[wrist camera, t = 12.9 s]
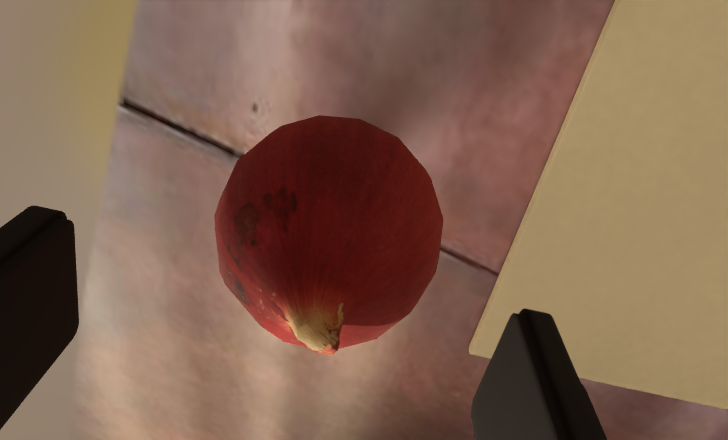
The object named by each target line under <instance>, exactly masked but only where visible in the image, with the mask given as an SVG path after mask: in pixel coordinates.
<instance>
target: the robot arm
mask: <svg viewBox="0 0 728 440" xmlns="http://www.w3.org/2000/svg"><path fill="white" fill-rule="evenodd" d="M78 324H79V314H78V295H77V274H76V254H75V234H74V224H73V222H72V221H70V220H67V217H66V215H65V213H64V212H62V211H58V210H53V209H48V208H44V207H39V206H30V207H28V208H27V209H25V210H24V211H23V212H21V213H20V214H19V215H17V216H16V217H14V218H13V219H12V220H10V221H9V222H8V223H6V224H5V225H4V226H2V227H1V228H0V429H1V428H2V427H3V425H4V424H5V423H6V422H7V421H8V419H9V418H10V417H11V416H12V414H13V413H14V412H15V411H16V409H17V408H18V407H19V406H20V404H21V403H22V402H23V400H24V399H25V398H26V397H27V395H28V394H29V393H30V391H31V390H32V389H33V388H34V387H35V385H36V384H37V383H38V382H39V380H40V379H41V378H42V377H43V375H44V374H45V373H46V371H47V370H48V369H49V368H50V366H51V365H52V364H53V363H54V362H55V360H56V359H57V358H58V357H59V355H60V354H61V353H62V352H63V350H64V349H65V348H66V346H67V345H68V344H69V343H70V342H71V340H72V339H73V338H74V336H75V334H76V332H77V329H78ZM471 419H472V425H473V431H474V437H475V440H607V438H606V436H605V433H604V431H603V429H602V426H601V424H600V422H599V419H598V417H597V415H596V412H595V410H594V408H593V405H592V403H591V401H590V398H589V396H588V394H587V391H586V390H585V388H584V386H583V385H582V384H581V382H580V380H579V378H578V375H577V373H576V371H575V368H574V366H573V364H572V361H571V359H570V357H569V354H568V352H567V349H566V347H565V345H564V342H563V340H562V338H561V335H560V333H559V331H558V328H557V326H556V324H555V321H554V319H553V317H552V315H551V314H549V313H545V312H540V311H535V310H530V309H522V310H521V311H520V312H519V314H517V313H513V314H512V315H511V316H510V318H509V320H508V322H507V324H506V327H505V329H504V331H503V333H502V336H501V338H500V340H499V342H498V345H497V347H496V349H495V351H494V354H493V356H492V358H491V360H490V363H489V365H488V367H487V369H486V372H485V374H484V376H483V378H482V381H481V383H480V385H479V387H478V390H477V392H476V394H475V396H474V399H473V402H472V406H471Z"/></svg>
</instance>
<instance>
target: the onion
mask: <svg viewBox="0 0 728 440" xmlns="http://www.w3.org/2000/svg"><path fill="white" fill-rule="evenodd" d="M442 227H443V217H442V214H441V210H440V207H439V204H438V200H437V197H436V194H435V190H434V187H433V184H432V180H431V178H430V176H429V174H428V173H427V171H426V170H425V168H424V167H423V166H422V165H421V164H420V163H419V161H418V160H417V159H416V158H415V157H414V156H413V154H412V153H411V152H410V151H409V150H408V148H407V147H406V146H405V145H404V144H403V143H402V141H401V140H400V139H399V138H398V137H396V136H394V135H392V134H390V133H388V132H386V131H384V130H382V129H379V128H377V127H375V126H373V125H371V124H369V123H367V122H365V121H363V120H361V119H354V118H343V117H332V116H320V115H319V116H315V117H312V118H308V119H305V120H301V121H297V122H294V123H290V124H287V125H283V126H281V127H279V128H278V129H276V130H275V131H273V132H272V133H270V134H269V135H268V136H267V137H265V138H264V139H263V140H262V141H261V142H259V143H258V144H257V145H256V146H255V147H253V148H252V149H251V150H250V151H249V152H247V153H246V154H245V155H244V156H243V157H241V158H240V159H239V160H238V161H237V163H236V165H235V167H234V169H233V171H232V174H231V176H230V178H229V180H228V182H227V185H226V187H225V189H224V191H223V193H222V196H221V198H220V201H219V204H218V207H217V210H216V213H215V230H216V241H217V250H218V260H219V269H220V274H221V276H222V278H223V280H224V282H225V285H226V286H227V287H228V288H229V289H230V291H231V292H232V293H233V294H234V295H235V296H236V298H237V299H238V300H239V301H240V302H241V303H242V305H243V306H244V307H245V308H246V309H247V311H248V312H249V313H250V314H251V315H252V316H253V318H254V319H255V320H256V321H257V322H258V323H259V324H260V325H261V326H262V327H263V328H265V329H266V330H268V331H269V332H271V333H272V334H273V335H275V336H276V337H278V338H279V339H281V340H282V341H284V342H287V343H291V344H295V345H299V346H303V347H307V348H309V349H311V350H313V351H314V352H321V353H324V354H326V355H329V356H331V355H332V354H334V353H335V352H336V351H338V348H344V347H348V346H352V345H355V344H359V343H363V342H367V341H370V340H374V339H377V338H378V337H379V336H381V335H382V334H383V333H384V332H386V331H387V330H388V329H390V328H391V327H392V326H394V325H395V324H396V323H397V322H399V321H400V320H401V319H403V318H404V317H405V316H407V315H408V314H409V313H410V312H411V311H412V310H413V308H414V307H415V305H416V304H417V303H418V301H419V299H420V298H421V296H422V294H423V293H424V291H425V289H426V288H427V286H428V284H429V283H430V281H431V279H432V277H433V276H434V274H435V272H436V268H437V264H438V259H439V252H440V243H441V235H442Z"/></svg>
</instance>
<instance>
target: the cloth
mask: <svg viewBox="0 0 728 440" xmlns="http://www.w3.org/2000/svg"><path fill="white" fill-rule="evenodd" d="M522 309H530V310H535V311H540V312H545V313H549V314H551V315H552V317H553V319H554V321H555V324H556V326H557V328H558V331H559V333H560V335H561V338H562V340H563V342H564V345H565V347H566V349H567V352H568V354H569V357H570V359H571V361H572V364H573V366H574V368H575V371H576V373H577V375H578V377H579V378H583V379H588V380H593V381H597V382H602V383H607V384H611V385H616V386H620V387H625V388H630V389H634V390H639V391H644V392H648V393H653V394H657V395H662V396H667V397H671V398H676V399H681V400H685V401H690V402H694V403H699V404H704V405H708V406H713V407H718V408H722V409H727V410H728V0H615V1H614V4H613V6H612V8H611V11H610V13H609V16H608V18H607V20H606V23H605V25H604V27H603V30H602V32H601V34H600V37H599V39H598V42H597V44H596V46H595V49H594V51H593V53H592V56H591V58H590V61H589V63H588V65H587V68H586V70H585V72H584V75H583V77H582V80H581V82H580V84H579V87H578V89H577V91H576V94H575V96H574V98H573V101H572V103H571V106H570V108H569V110H568V113H567V115H566V117H565V120H564V122H563V125H562V127H561V129H560V132H559V134H558V136H557V139H556V141H555V144H554V146H553V148H552V151H551V153H550V155H549V158H548V160H547V162H546V165H545V167H544V170H543V172H542V174H541V177H540V179H539V181H538V184H537V186H536V189H535V191H534V193H533V196H532V198H531V200H530V203H529V205H528V208H527V210H526V212H525V215H524V217H523V219H522V222H521V224H520V226H519V229H518V231H517V234H516V236H515V238H514V241H513V243H512V245H511V248H510V250H509V253H508V255H507V257H506V260H505V262H504V264H503V267H502V269H501V272H500V274H499V276H498V279H497V281H496V283H495V286H494V288H493V290H492V293H491V295H490V298H489V300H488V302H487V305H486V307H485V309H484V312H483V314H482V317H481V319H480V321H479V324H478V326H477V328H476V331H475V333H474V336H473V338H472V340H471V343H470V345H469V353H470V354H472V355H477V356H482V357H486V358H492V356H493V354H494V351H495V349H496V347H497V345H498V342H499V340H500V338H501V336H502V333H503V331H504V329H505V327H506V324H507V322H508V320H509V318H510V316H511V315H512V314H513V313H517V314H519V312H520V311H521V310H522Z"/></svg>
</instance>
